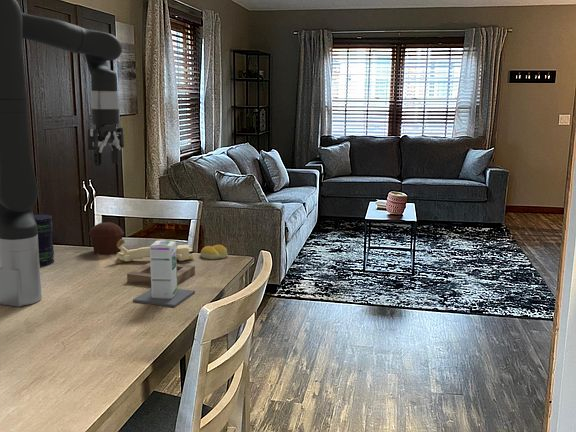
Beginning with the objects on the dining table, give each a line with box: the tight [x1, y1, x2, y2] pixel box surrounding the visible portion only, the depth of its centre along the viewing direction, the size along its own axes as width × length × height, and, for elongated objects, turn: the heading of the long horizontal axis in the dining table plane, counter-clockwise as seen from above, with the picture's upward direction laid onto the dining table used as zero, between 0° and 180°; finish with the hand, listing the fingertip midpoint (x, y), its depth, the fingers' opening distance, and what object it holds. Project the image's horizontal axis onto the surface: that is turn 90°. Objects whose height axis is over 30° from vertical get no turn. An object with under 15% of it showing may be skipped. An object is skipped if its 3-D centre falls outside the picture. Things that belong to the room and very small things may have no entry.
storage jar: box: [33, 213, 55, 268], centre depth 182 cm, size 10×10×15 cm
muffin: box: [88, 221, 125, 256], centre depth 198 cm, size 12×11×10 cm
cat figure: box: [116, 238, 197, 264], centre depth 189 cm, size 10×9×25 cm
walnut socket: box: [126, 262, 196, 286], centre depth 171 cm, size 14×14×2 cm
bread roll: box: [200, 244, 229, 260], centre depth 196 cm, size 8×9×4 cm
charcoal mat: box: [132, 288, 196, 308], centre depth 155 cm, size 12×12×1 cm
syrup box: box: [149, 239, 179, 299], centre depth 153 cm, size 6×6×14 cm
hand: (107, 164), depth 167 cm, fingers open, 8 cm apart
